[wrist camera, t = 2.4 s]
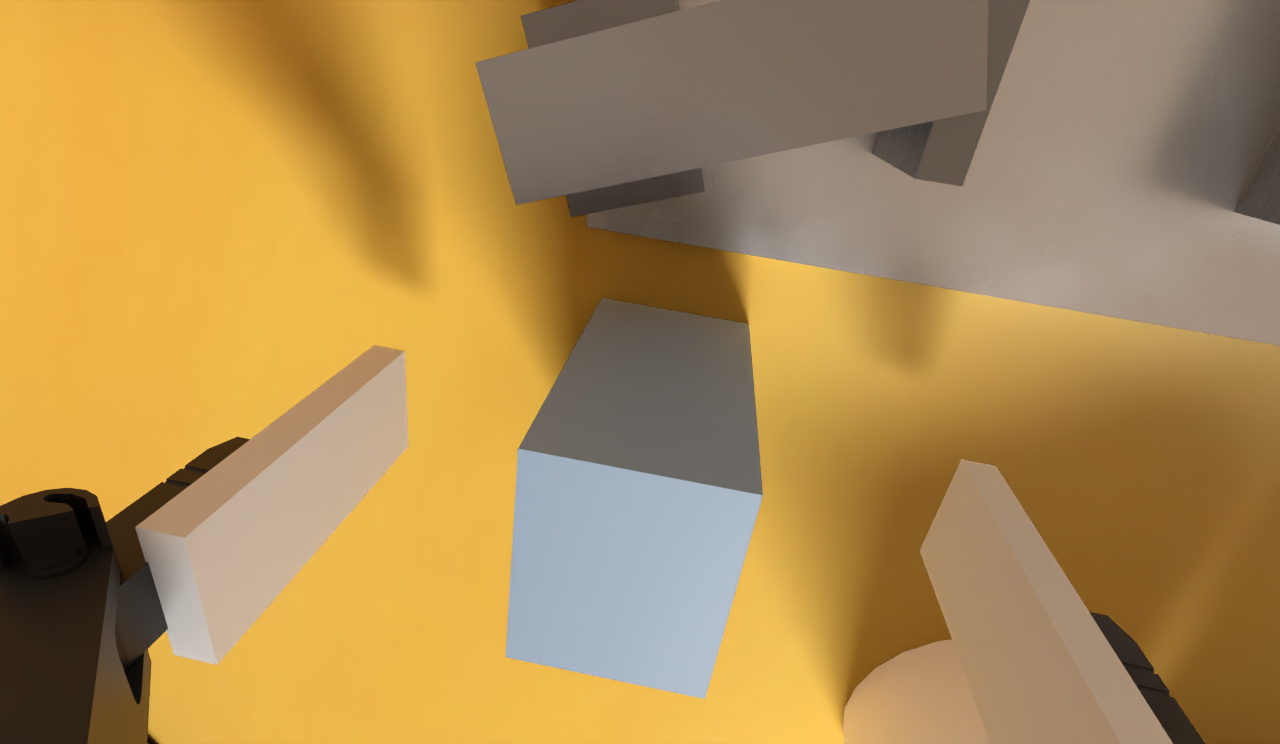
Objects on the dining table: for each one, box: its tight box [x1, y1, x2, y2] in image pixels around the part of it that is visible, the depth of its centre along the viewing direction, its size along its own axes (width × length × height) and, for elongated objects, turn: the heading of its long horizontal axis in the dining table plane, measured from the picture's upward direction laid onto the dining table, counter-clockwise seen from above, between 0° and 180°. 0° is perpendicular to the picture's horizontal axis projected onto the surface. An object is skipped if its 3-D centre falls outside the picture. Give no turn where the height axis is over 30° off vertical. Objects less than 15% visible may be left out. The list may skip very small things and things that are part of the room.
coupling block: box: [506, 298, 763, 699], centre depth 14 cm, size 5×4×8 cm
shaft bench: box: [476, 0, 1280, 346], centre depth 11 cm, size 24×10×4 cm, turn 82°
